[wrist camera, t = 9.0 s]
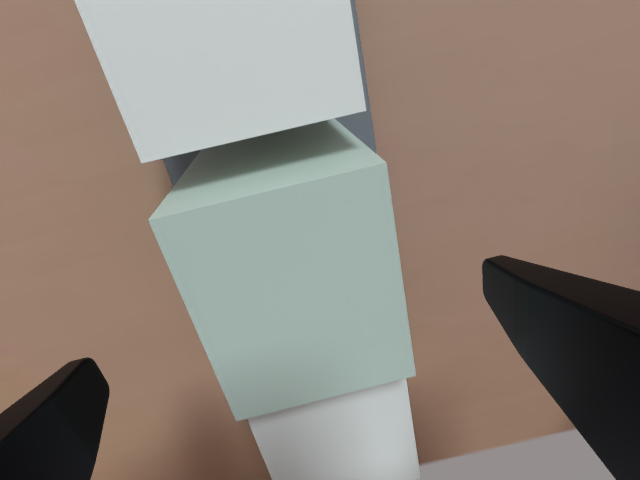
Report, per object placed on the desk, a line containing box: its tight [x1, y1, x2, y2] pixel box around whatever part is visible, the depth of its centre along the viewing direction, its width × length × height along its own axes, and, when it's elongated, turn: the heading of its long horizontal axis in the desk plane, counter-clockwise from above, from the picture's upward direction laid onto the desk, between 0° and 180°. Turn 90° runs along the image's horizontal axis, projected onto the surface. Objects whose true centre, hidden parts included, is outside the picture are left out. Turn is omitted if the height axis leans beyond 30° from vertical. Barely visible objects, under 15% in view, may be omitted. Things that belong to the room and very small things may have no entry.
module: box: [148, 118, 416, 421], centre depth 12 cm, size 6×5×7 cm
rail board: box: [74, 0, 421, 480], centre depth 14 cm, size 19×8×7 cm, turn 12°
